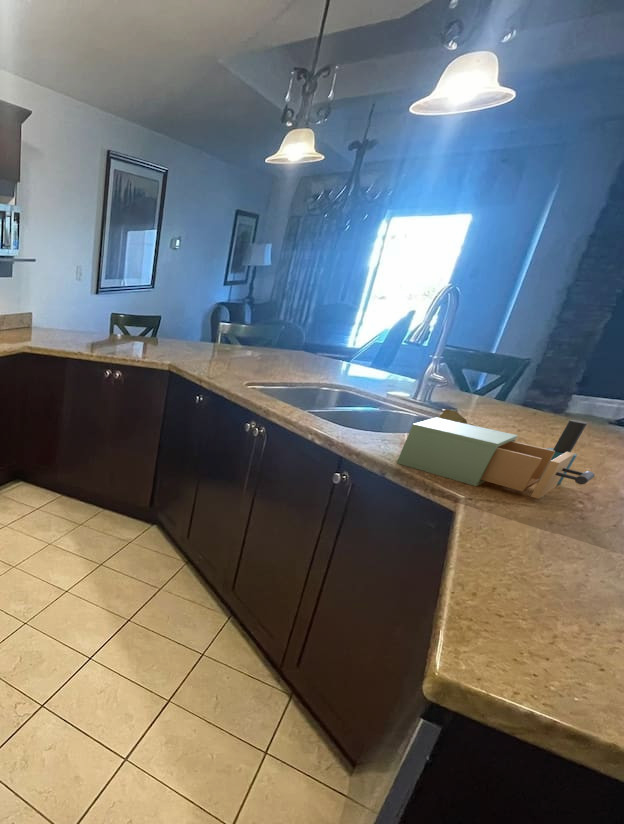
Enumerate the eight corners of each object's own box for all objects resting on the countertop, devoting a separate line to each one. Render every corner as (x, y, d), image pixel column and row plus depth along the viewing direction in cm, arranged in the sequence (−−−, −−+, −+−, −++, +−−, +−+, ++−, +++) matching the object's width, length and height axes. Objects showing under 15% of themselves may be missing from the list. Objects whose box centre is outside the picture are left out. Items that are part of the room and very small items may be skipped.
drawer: (584, 495, 101) (606, 460, 98) (569, 507, 95) (591, 470, 92) (473, 465, 115) (489, 433, 112) (453, 474, 109) (469, 441, 106)
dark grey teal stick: (562, 482, 110) (597, 423, 105) (557, 486, 108) (592, 426, 102) (533, 474, 114) (565, 417, 108) (527, 478, 112) (559, 419, 106)
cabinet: (496, 475, 112) (518, 435, 108) (476, 486, 106) (497, 443, 102) (419, 454, 124) (435, 417, 120) (396, 463, 117) (412, 423, 113)
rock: (484, 443, 127) (440, 427, 134) (494, 421, 121) (447, 406, 129) (456, 470, 127) (413, 452, 134) (464, 449, 121) (419, 432, 128)
